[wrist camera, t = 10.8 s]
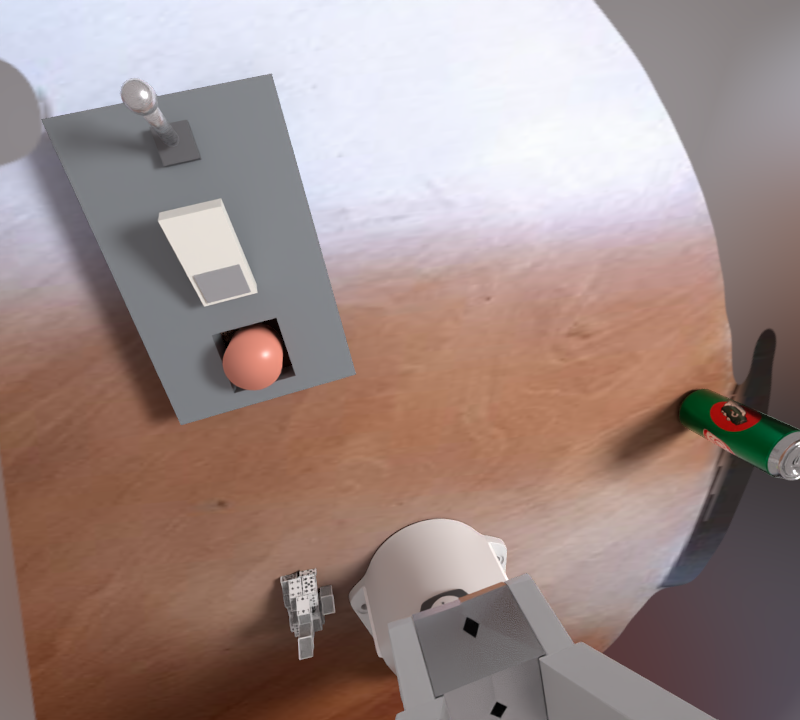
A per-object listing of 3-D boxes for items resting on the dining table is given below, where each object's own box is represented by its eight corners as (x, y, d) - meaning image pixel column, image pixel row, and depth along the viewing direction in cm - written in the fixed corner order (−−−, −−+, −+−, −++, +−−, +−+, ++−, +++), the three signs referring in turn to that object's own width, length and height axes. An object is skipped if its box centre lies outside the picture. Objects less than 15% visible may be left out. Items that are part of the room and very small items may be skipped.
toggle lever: (191, 152, 30) (154, 100, 24) (163, 158, 30) (119, 106, 24) (183, 126, 30) (144, 67, 24) (155, 131, 30) (109, 74, 24)
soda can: (668, 421, 52) (767, 479, 41) (688, 382, 51) (797, 431, 40) (699, 430, 54) (804, 488, 43) (720, 392, 53) (833, 441, 42)
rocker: (256, 284, 35) (257, 293, 34) (204, 297, 34) (204, 307, 33) (221, 198, 30) (221, 207, 29) (159, 212, 29) (157, 221, 28)
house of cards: (367, 616, 52) (378, 680, 45) (291, 633, 51) (290, 702, 44) (360, 554, 49) (371, 613, 42) (280, 571, 48) (277, 634, 41)
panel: (352, 363, 42) (357, 379, 38) (189, 410, 40) (177, 431, 36) (273, 84, 34) (270, 68, 30) (63, 127, 32) (30, 115, 28)
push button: (290, 363, 40) (289, 381, 36) (240, 377, 39) (234, 397, 35) (274, 316, 38) (271, 330, 34) (223, 330, 38) (213, 345, 34)
